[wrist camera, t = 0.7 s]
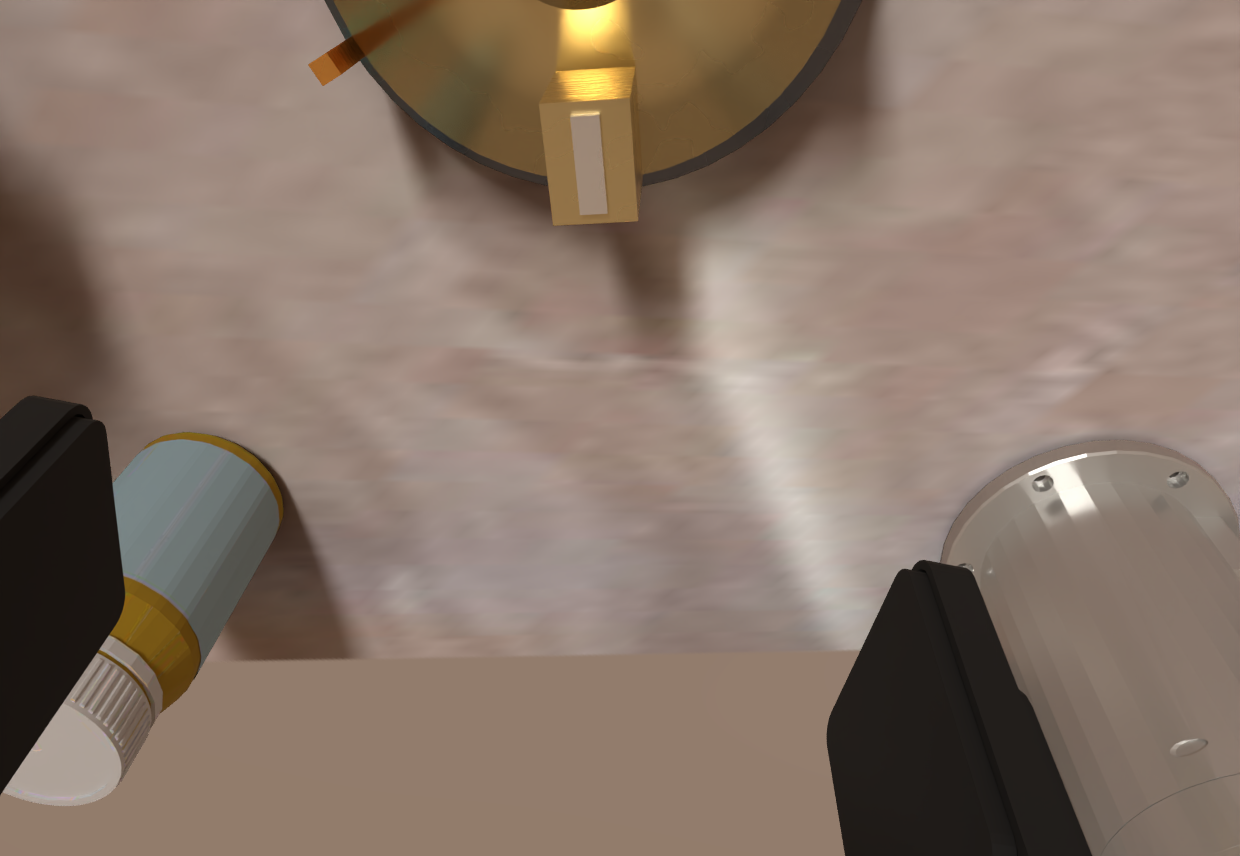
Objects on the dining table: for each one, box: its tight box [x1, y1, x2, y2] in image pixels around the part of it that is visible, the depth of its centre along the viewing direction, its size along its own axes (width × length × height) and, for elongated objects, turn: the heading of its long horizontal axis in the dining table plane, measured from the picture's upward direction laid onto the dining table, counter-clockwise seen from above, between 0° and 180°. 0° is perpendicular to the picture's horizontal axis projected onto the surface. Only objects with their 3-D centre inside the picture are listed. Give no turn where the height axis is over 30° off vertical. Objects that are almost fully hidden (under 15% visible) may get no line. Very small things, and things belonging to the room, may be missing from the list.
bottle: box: [3, 432, 283, 806], centre depth 39 cm, size 7×7×15 cm
